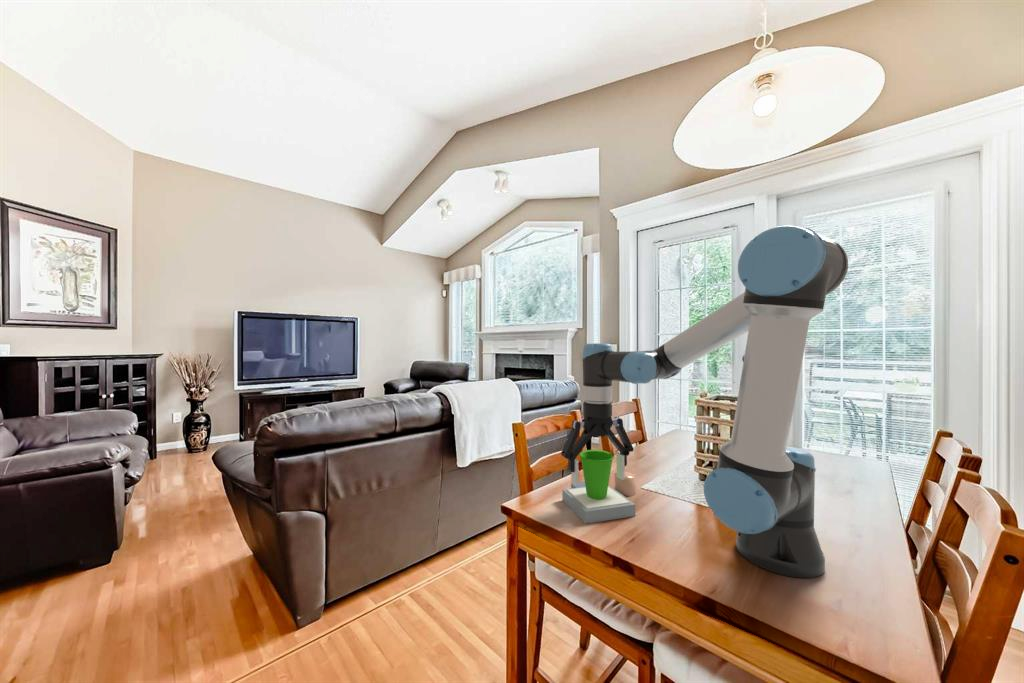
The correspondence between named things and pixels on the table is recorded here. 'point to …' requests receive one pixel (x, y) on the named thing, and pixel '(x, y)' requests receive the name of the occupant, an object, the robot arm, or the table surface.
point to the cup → (596, 472)
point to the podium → (598, 505)
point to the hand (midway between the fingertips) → (598, 481)
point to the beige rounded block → (626, 484)
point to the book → (580, 484)
